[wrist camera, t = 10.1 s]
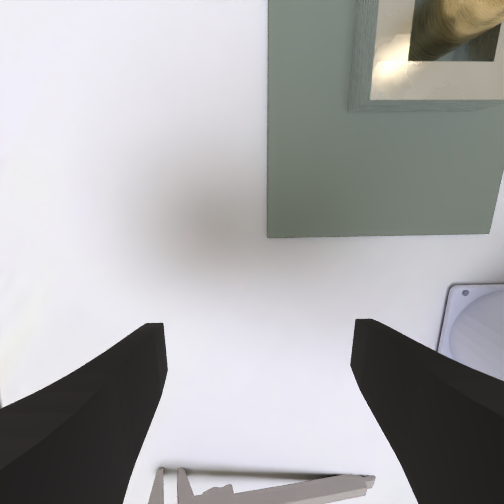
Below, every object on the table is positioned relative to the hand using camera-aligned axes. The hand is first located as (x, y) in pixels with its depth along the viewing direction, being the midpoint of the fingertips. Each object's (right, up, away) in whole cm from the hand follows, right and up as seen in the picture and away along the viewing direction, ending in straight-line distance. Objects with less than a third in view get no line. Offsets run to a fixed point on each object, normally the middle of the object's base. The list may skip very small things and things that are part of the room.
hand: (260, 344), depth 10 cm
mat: (+9, +13, +7) cm, 18 cm away
